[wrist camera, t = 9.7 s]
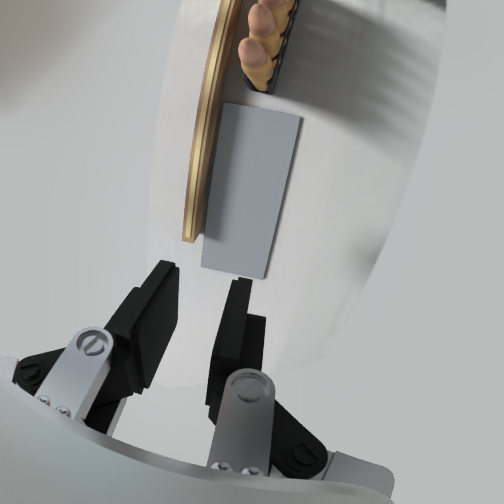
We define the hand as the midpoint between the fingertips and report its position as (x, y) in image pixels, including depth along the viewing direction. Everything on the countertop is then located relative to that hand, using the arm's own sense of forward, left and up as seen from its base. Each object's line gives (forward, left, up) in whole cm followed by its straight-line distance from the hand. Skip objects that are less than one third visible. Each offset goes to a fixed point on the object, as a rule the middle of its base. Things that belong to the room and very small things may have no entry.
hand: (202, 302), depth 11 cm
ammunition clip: (-14, 0, -14) cm, 20 cm away
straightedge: (-7, -4, -14) cm, 16 cm away
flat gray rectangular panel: (0, 0, -14) cm, 14 cm away
